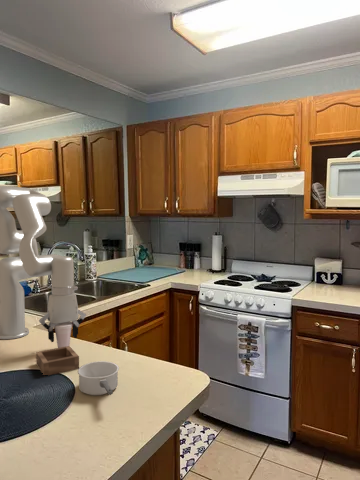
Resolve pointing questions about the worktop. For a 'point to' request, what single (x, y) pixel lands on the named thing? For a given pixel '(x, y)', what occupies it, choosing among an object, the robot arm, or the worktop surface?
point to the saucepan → (98, 377)
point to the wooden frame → (57, 360)
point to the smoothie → (63, 334)
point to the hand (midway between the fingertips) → (63, 338)
